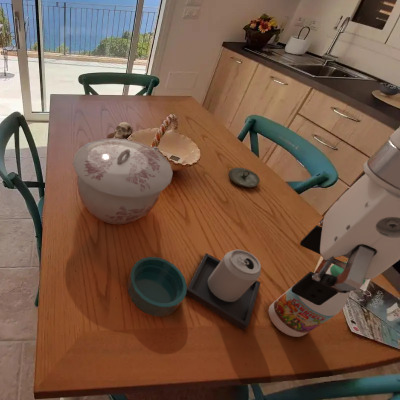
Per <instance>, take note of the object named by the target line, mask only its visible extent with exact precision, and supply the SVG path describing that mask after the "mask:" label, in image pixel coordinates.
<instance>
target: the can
mask: <svg viewBox="0 0 400 400" xmlns="http://www.w3.org/2000/svg"><path fill="white" fill-rule="evenodd" d="M261 270H262V265H261V262H260V260H259V259H258V258H257V257H256V256H255V254H253V253H251V252H249V251H247V250H244V249H239V248H238V249H234V250H231V251H228V252H226V253H225V254H224V256H223V257H222V258H221V260H220V263H219V264H218V266H217V267H216V268H215V270H214V271H213V273H212V274H211V275H210V277H209V278H208V287H209V288H210V290H211V292H212V293H213V294H214V295H215V296H216V297H218V298H219V299H221V300H223V301H227V302H234V301H236V300H238V299H239V298H240V297H241V296H242V295H243V294H244V293H245V292H246V291H247V290H248V288H249V287H250V286H251V285H252V284H253V283H254V282H255V281H256V280H257V281H258V280H259V278H260V277H261V275H262V274H261V273H262V271H261Z"/></svg>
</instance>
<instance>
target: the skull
mask: <svg viewBox="0 0 400 400" xmlns="http://www.w3.org/2000/svg"><path fill="white" fill-rule="evenodd" d="M133 130H134V127H133V126H132V125H131V124H130V123H129V122H127V121H122V122H120V123H119V124H118V125H116V127H115V130H114V132H110V133H108V135H107V138H106V139H110V138H118V139H127V138H128V137H129V136H130V135H131V134H132V135H133V133H134V131H133ZM132 135H131V136H132Z"/></svg>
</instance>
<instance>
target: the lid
mask: <svg viewBox="0 0 400 400" xmlns="http://www.w3.org/2000/svg"><path fill="white" fill-rule="evenodd" d="M228 177H229V179H230V181H231V182H233V184H235V185H237V186H239V187H243V188H249V189H250V188H255V187H257V186H258V185H259V184H260V181H261V179H260V176H259V175H258V174H257V173H256V172H254V171H252V170H251V169H248V168H244V167H232V168H231V169H229V171H228Z"/></svg>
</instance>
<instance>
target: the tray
mask: <svg viewBox="0 0 400 400" xmlns="http://www.w3.org/2000/svg"><path fill="white" fill-rule="evenodd" d="M220 261H221V260H220V259H218V258H216V257H214V256H212V255H211V254H209V253H207V252H205V254H204V255H203V256H202V258H201V260H200V262H199V264H198V266H197V267H196V269H195V272H194V274H193V276H192V278H191V280H190V281H189V284H188V285H187V292H186V295H185V296H187V297H188V298H191V299H192V300H194V301H195V302H196V303H198V304H200V305H202V306H203V307H205V308H206V309H208V310H210V311H211V312H213V313H215V314H216V315H217V316H219V317H221V318H222V319H224V320H225V321H227V322H229V323H230V324H232V325H233V326H235V327H237V328H238V329H240V330H241V331H245V330H246V329H247V328H248V327H249V325H250V321H251V317H252V313H253V310H254V308H255V304H256V301H257V298H258V297H257V296H258V293H259V290H260V286H261V283H262V282H261V281H259V280H258V279H257V280H256V281H255V282H254V283H253V284H252V285H251V286H250V287H249V288H248V290H247V291H246V292H245V293H244V294H243V295H242V296H241V297H240V298H239V299H238V300H236V301H234V302H227V301H223V300H221V299H219V298H218V297H216V296H215V295H214V294H213V293H212V292H211V290H210V288H209V287H208V278H209V277H210V275H211V274H212V273H213V271H214V270H215V268H216V267H217V266H218V264H219V263H220Z"/></svg>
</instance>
